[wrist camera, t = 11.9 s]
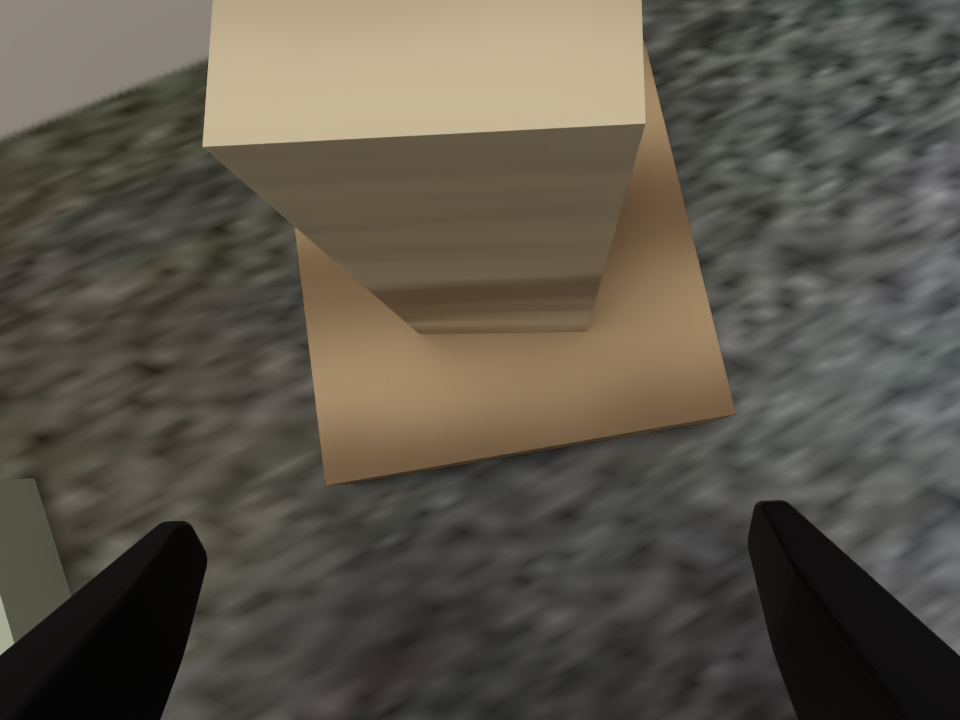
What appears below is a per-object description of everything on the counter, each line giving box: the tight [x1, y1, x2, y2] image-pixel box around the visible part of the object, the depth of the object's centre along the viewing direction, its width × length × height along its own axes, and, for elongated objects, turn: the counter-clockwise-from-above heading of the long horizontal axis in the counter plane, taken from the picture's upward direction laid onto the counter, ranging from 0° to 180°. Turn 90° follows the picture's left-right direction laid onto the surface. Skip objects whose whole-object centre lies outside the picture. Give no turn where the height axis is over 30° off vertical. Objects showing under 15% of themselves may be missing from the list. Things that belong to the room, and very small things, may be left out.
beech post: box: [203, 0, 646, 334], centre depth 13 cm, size 5×5×12 cm
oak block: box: [295, 42, 736, 486], centre depth 21 cm, size 12×12×3 cm
